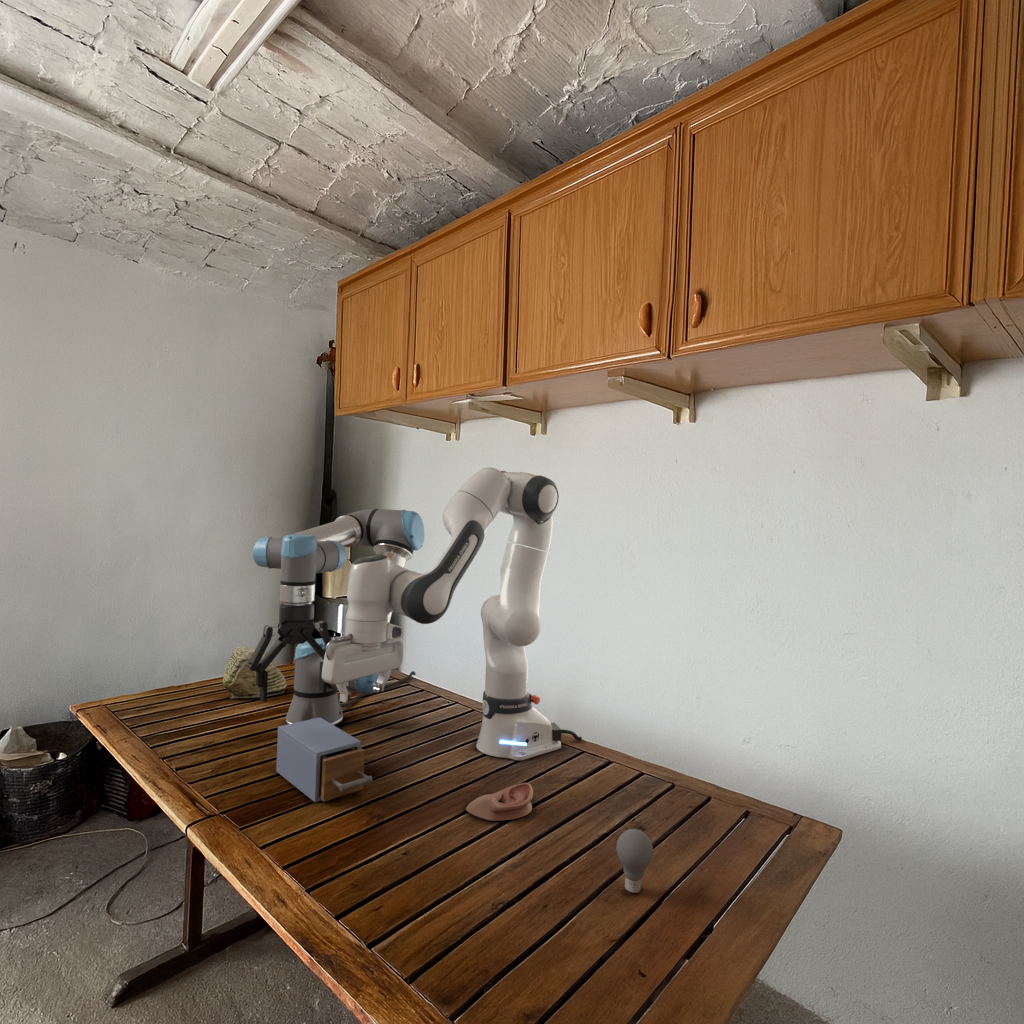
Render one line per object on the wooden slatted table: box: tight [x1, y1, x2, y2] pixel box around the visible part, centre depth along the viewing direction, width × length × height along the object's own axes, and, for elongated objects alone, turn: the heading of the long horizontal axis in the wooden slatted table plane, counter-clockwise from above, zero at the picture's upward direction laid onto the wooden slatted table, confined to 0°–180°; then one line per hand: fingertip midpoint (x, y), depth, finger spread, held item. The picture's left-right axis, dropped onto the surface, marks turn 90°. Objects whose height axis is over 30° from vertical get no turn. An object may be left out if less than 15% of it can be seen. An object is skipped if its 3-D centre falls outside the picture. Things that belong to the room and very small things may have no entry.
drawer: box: [319, 747, 373, 803], centre depth 137 cm, size 23×9×8 cm, turn 44°
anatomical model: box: [465, 782, 534, 822], centre depth 132 cm, size 13×4×12 cm
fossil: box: [222, 646, 288, 699], centre depth 198 cm, size 9×18×15 cm, turn 132°
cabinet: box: [275, 717, 362, 803], centre depth 142 cm, size 19×10×10 cm, turn 44°
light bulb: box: [615, 828, 654, 894], centre depth 106 cm, size 6×6×10 cm
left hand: (293, 695), depth 144 cm, fingers open, 13 cm apart
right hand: (362, 696), depth 134 cm, fingers open, 8 cm apart
